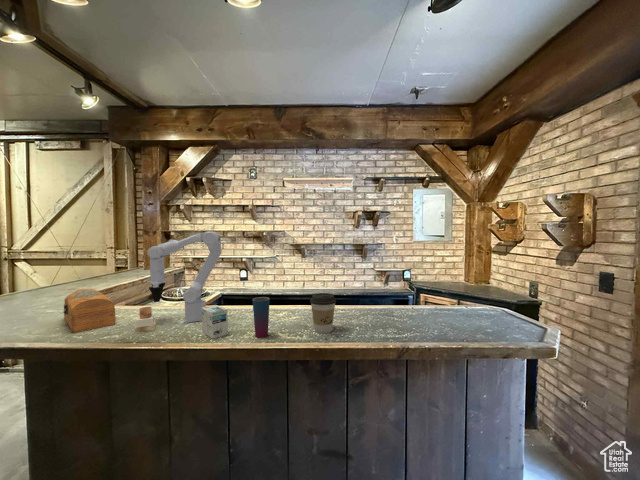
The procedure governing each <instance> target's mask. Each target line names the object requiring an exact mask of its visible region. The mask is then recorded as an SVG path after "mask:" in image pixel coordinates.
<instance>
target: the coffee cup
mask: <svg viewBox="0 0 640 480" xmlns="http://www.w3.org/2000/svg"><path fill="white" fill-rule="evenodd" d="M309 303H310V305H311V312H312V320H313V327H314V332H316V333H317V334H330V333H331V332H332V330H333V325H334V324H333V322H334V316H335V315H334V314H335V307H336V303H337V299H336V297H335V296H334V295H333V294H331V293H328V292H327V293H326V292H325V293H324V292H321V293H320V292H319V293H315V294H312V295H311V298H310V299H309Z"/></svg>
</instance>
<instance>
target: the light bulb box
mask: <svg viewBox="0 0 640 480" xmlns="http://www.w3.org/2000/svg"><path fill="white" fill-rule="evenodd" d="M228 317H229V316H228V309H227V308H225V307H223V306H220V305H217V304H213V305H208V306H206V307H202V322H201V323H202V324H201V328H202V334H205V335H206V336H208V337H209V338H211V339H212V340H213V339H216V338H220V337H223V336H228V335H229V322H228V319H229V318H228Z"/></svg>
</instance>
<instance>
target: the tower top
mask: <svg viewBox="0 0 640 480" xmlns="http://www.w3.org/2000/svg"><path fill="white" fill-rule="evenodd" d="M154 321H155V314H152V317H150V318H146V319H140V315H139V316H137V318H136V319H135V326H136V328H137V327H144V326H151V325H153V324H154Z"/></svg>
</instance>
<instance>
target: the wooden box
mask: <svg viewBox="0 0 640 480" xmlns="http://www.w3.org/2000/svg"><path fill="white" fill-rule="evenodd" d="M115 307H116V306H115V303H114V301H112V299H110V298H108V296H106V295H105V294H103V293H102V292H100V291H99V290H96V289H93V288H83V289H78V290H76V291H73V292H72V293H70V294H69V295H68V296H66V297H65V298H64V303H63V318H64V321H65V322H66V324H67V326H68V327H69V329H70V331H71V333H72V334H77V333H81V332H85V331H90V330H95V329H100V328H101V329H102V328H106V327H110V326H114V325H116V308H115Z"/></svg>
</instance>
